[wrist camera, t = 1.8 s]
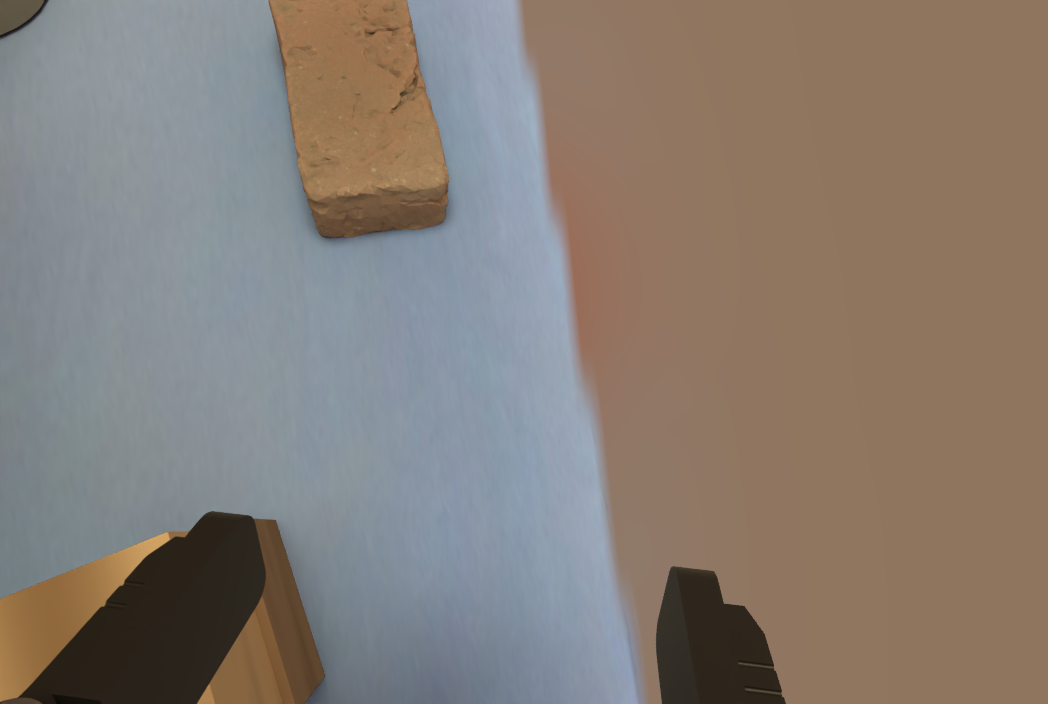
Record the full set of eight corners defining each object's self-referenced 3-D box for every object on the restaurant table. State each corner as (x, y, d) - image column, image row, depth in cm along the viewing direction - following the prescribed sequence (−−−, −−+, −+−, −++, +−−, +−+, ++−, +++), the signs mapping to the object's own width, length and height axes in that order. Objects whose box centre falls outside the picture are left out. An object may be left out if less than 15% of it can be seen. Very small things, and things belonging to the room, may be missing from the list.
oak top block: (86, 799, 20) (-47, 902, 15) (45, 608, 22) (-90, 635, 16) (283, 702, 22) (230, 761, 17) (231, 531, 24) (167, 532, 18)
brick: (452, 224, 37) (454, 181, 32) (318, 245, 35) (301, 202, 30) (402, 25, 41) (398, -37, 36) (281, 34, 39) (261, -30, 35)
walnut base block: (151, 761, 26) (72, 825, 20) (109, 589, 28) (25, 603, 22) (325, 675, 28) (297, 712, 22) (276, 520, 30) (238, 517, 24)
